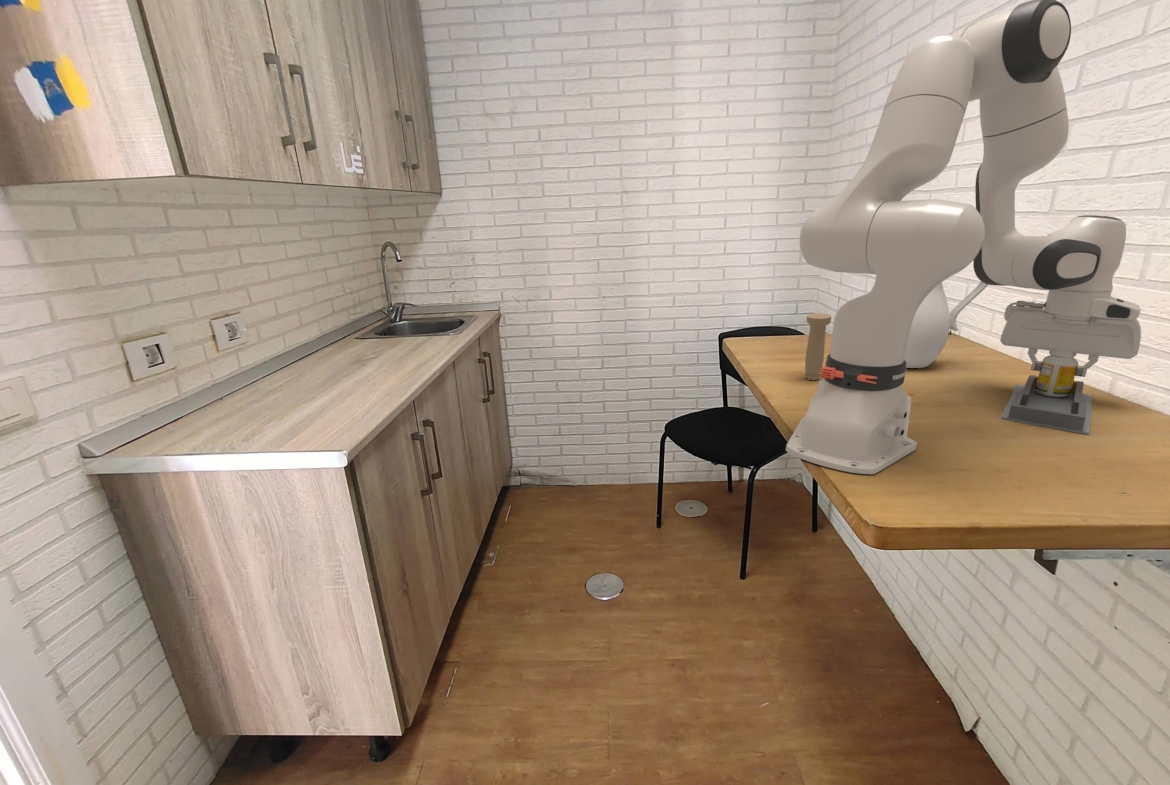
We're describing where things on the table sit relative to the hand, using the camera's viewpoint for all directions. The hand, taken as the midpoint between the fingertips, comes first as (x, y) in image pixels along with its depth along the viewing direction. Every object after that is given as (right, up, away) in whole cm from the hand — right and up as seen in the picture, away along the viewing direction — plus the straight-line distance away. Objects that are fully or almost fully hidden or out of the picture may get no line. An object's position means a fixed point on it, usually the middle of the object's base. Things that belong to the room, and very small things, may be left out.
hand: (1057, 372), depth 104 cm
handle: (-41, -1, +18) cm, 45 cm away
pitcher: (-11, +3, +26) cm, 29 cm away
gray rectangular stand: (-5, -7, -4) cm, 9 cm away
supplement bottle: (0, -4, +2) cm, 5 cm away
